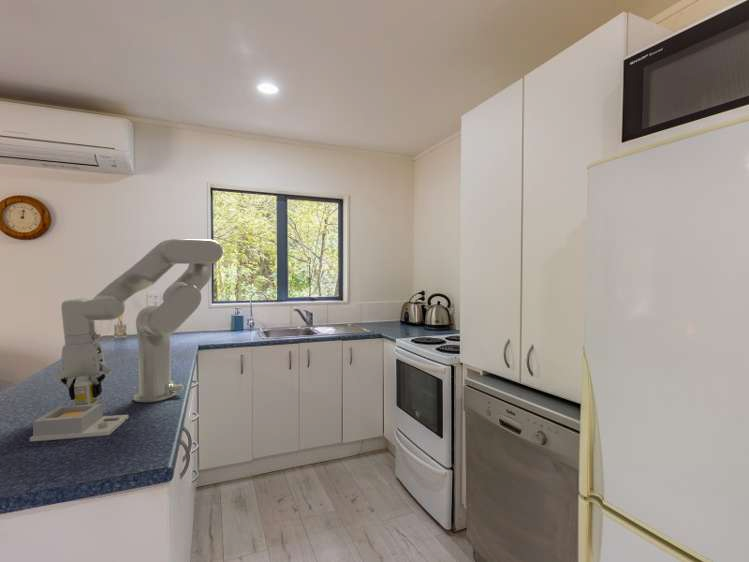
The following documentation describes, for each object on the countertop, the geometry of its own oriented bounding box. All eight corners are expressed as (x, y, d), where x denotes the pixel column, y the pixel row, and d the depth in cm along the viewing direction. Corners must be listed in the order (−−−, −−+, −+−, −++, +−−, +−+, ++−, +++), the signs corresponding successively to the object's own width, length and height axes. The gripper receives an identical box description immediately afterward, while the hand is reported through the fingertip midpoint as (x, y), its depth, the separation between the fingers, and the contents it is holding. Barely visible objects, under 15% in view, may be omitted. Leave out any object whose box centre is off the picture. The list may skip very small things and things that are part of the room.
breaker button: (85, 418, 106) (85, 411, 106) (75, 425, 101) (75, 418, 101) (65, 419, 105) (65, 412, 105) (54, 427, 100) (53, 419, 100)
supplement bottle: (78, 409, 112) (75, 378, 112) (73, 405, 116) (70, 375, 115) (99, 403, 116) (96, 373, 116) (95, 399, 120) (92, 370, 119)
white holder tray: (128, 417, 111) (128, 401, 111) (108, 435, 100) (108, 416, 100) (58, 423, 108) (58, 405, 108) (29, 441, 96) (29, 422, 96)
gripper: (117, 334, 120) (122, 389, 121) (55, 339, 117) (61, 396, 118) (106, 339, 113) (111, 398, 114) (40, 344, 109) (46, 405, 111)
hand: (86, 396), depth 116 cm, fingers closed on supplement bottle, 5 cm apart
